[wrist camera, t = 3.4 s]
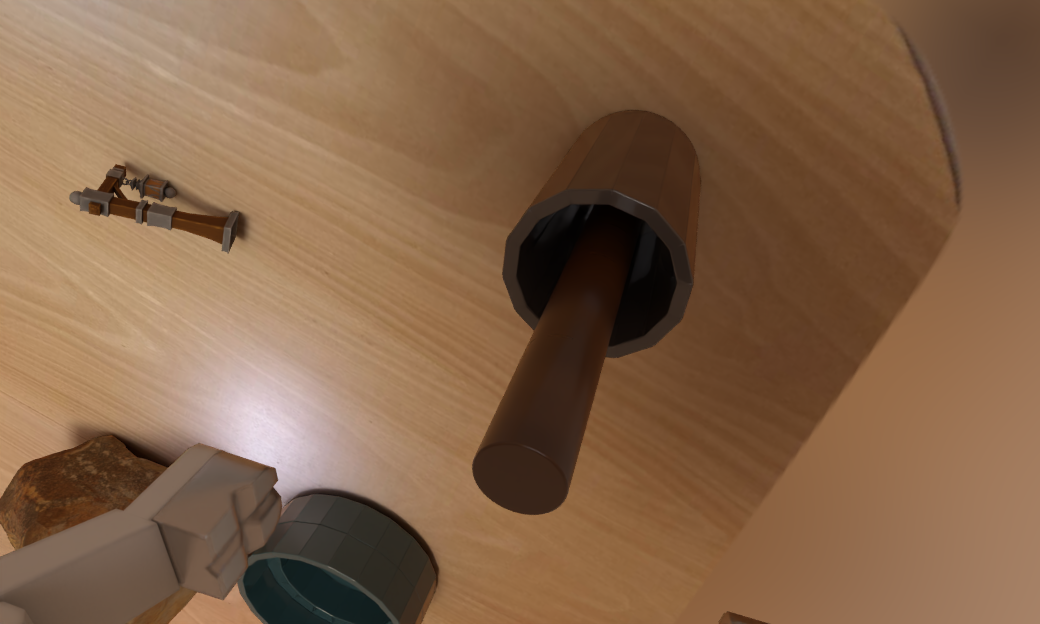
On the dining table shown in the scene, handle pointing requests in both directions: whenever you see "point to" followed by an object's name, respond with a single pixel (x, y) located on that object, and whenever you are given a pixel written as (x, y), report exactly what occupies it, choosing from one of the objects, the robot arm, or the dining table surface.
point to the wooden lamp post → (153, 208)
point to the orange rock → (81, 500)
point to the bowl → (337, 567)
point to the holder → (633, 189)
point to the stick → (558, 373)
